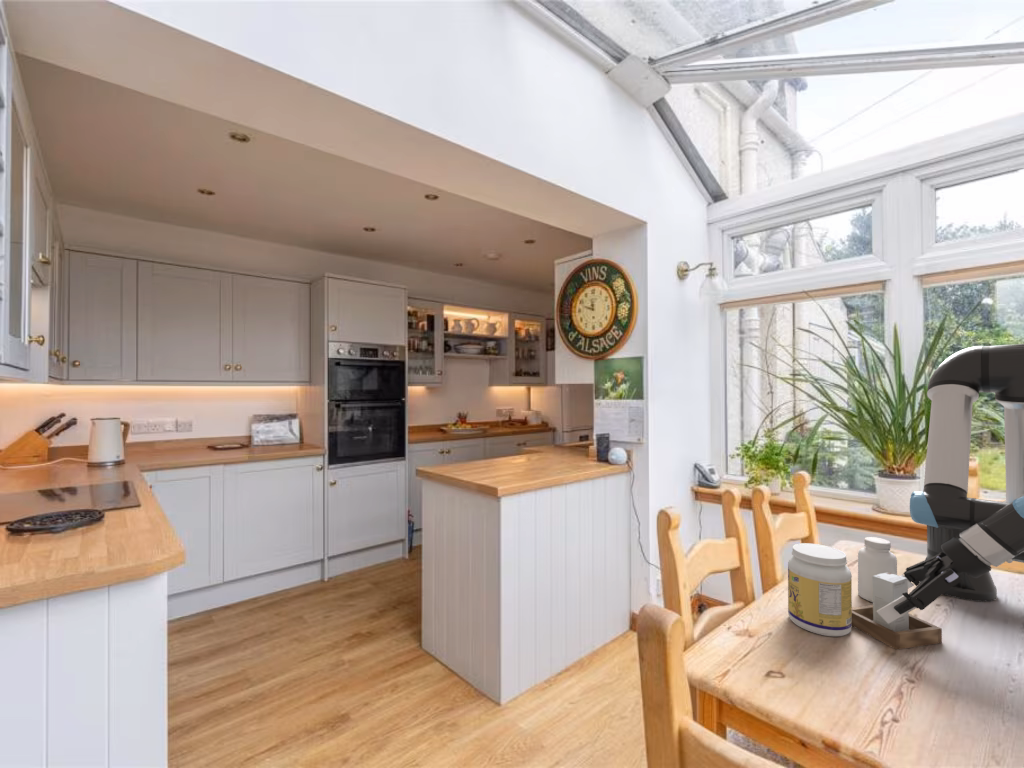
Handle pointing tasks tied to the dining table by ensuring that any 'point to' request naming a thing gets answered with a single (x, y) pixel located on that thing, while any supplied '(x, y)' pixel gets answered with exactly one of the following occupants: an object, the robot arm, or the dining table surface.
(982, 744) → the dining table surface
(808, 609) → the supplement tub
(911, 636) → the holder
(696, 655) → the dining table surface
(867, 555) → the pill bottle
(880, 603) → the skincare box
